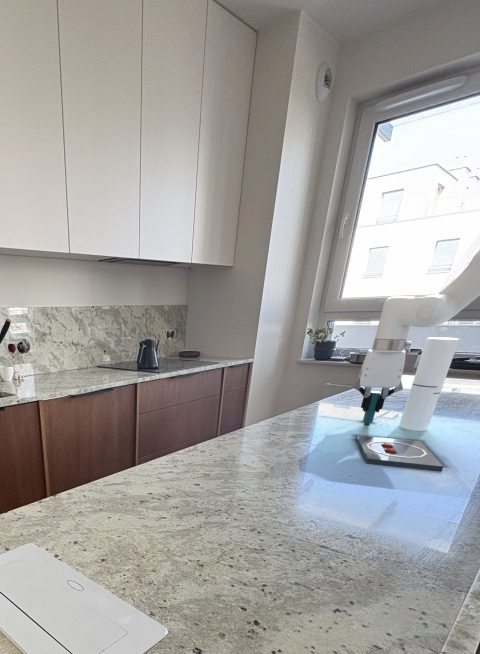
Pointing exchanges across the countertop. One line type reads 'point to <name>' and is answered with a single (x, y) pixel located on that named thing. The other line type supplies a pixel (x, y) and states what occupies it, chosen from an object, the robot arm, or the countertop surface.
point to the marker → (371, 408)
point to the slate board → (397, 453)
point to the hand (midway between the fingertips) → (370, 410)
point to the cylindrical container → (428, 382)
